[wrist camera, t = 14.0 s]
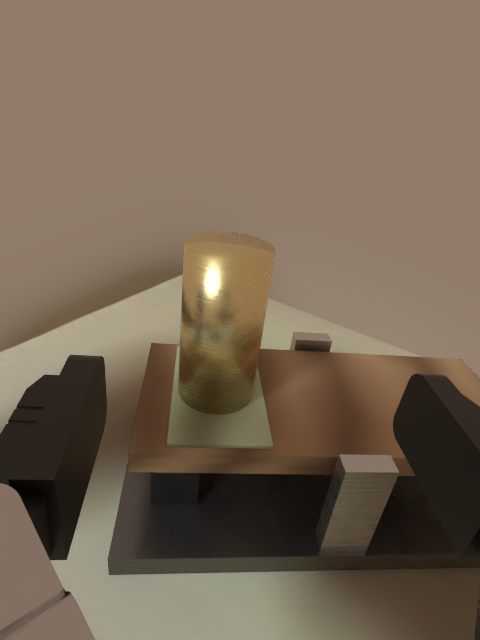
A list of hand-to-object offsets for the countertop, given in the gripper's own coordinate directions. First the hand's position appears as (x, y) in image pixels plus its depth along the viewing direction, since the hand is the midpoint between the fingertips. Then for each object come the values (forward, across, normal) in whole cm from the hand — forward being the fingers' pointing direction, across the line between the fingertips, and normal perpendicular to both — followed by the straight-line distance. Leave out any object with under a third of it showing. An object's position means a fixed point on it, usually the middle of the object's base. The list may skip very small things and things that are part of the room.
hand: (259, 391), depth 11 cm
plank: (+13, -8, +12) cm, 19 cm away
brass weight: (+13, 0, +11) cm, 17 cm away
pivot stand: (+13, -8, +19) cm, 24 cm away
